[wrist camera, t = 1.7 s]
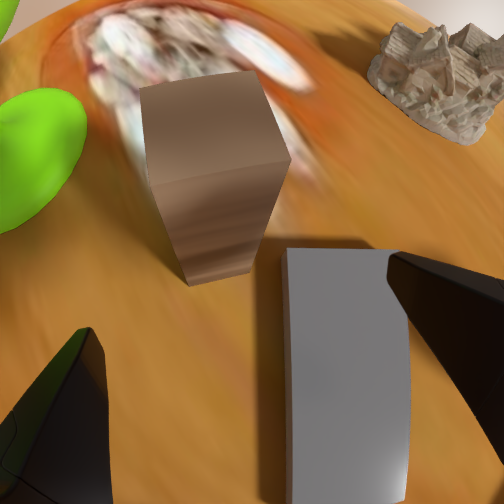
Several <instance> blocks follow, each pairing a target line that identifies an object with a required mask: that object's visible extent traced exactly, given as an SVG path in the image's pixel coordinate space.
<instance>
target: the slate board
mask: <svg viewBox="0 0 504 504" xmlns="http://www.w3.org/2000/svg"><path fill="white" fill-rule="evenodd" d="M396 252H399V250H385V249H328V248H286V250H285V252H284V253H283V255H282V256H281V272H282V296H283V324H284V357H285V405H286V504H394V503H397V502H400V501H403V500H404V498H405V490H406V481H407V470H408V458H409V442H410V416H411V376H410V349H409V332H408V319H407V315H406V313H405V311H404V309H403V308H402V306H401V304H400V303H399V301H398V299H397V298H396V296H395V294H394V293H393V291H392V290H391V288H390V286H389V285H388V282H387V279H386V274H387V266H388V258H389V256H390V255H391V254H392V253H396Z"/></svg>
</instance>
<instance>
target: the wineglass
mask: <svg viewBox="0 0 504 504" xmlns="http://www.w3.org/2000/svg"><path fill="white" fill-rule="evenodd" d="M19 1H20V0H0V42H1V40H2V39H3V37H4V35H5V34H6V32H7V30H8V28H9V26H10V24H11V22H12V20H13V17H14V15H15V12H16V9H17V7H18V4H19ZM86 135H87V116H86V113H85V111H84V108H83V105H82V103H81V102H80V101H79V100H77V99H76V98H75V97H74V96H73V95H72V94H71V93H69V92H66V91H63V90H60V89H58V88H39V89H35V90H30V91H26V92H24V93H22V94H20V95H17V96H15V97H13V98H11V99H9V100H8V101H6V102H5V103H3V104H2V105H0V234H1V233H4V232H7V231H9V230H12V229H15V228H17V227H18V226H20V225H21V224H23V223H24V222H26V221H27V220H29V219H30V218H32V217H33V216H35V215H36V214H37V213H38V212H39V211H40V210H41V209H42V208H43V207H44V206H45V205H46V204H47V203H48V202H49V201H50V200H51V199H52V198H54V197H55V195H56V194H57V193H58V191H59V190H60V188H61V187H62V186H63V184H64V183H65V182H66V180H67V179H68V178H69V176H70V175H71V173H72V171H73V169H74V167H75V165H76V163H77V161H78V159H79V157H80V156H81V154H82V150H83V146H84V142H85V139H86Z"/></svg>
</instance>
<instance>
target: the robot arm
mask: <svg viewBox="0 0 504 504" xmlns="http://www.w3.org/2000/svg"><path fill="white" fill-rule="evenodd" d="M386 279H387V282H388V285H389V286H390V288H391V290H392V291H393V293H394V294H395V296H396V298H397V299H398V301H399V303H400V304H401V306H402V308H403V309H404V311H405V313H406V315H407V316H408V318H409V319H410V321H411V322H412V324H413V325H414V326H415V328H416V329H417V331H418V332H419V333H420V335H421V336H422V337H423V339H424V340H425V342H426V343H427V345H428V346H429V347H430V349H431V350H432V352H433V353H434V355H435V356H436V357H437V359H438V360H439V362H440V363H441V365H442V366H443V368H444V369H445V371H446V372H447V374H448V375H449V377H450V378H451V380H452V381H453V383H454V384H455V386H456V387H457V389H458V390H459V392H460V393H461V395H462V397H463V398H464V400H465V401H466V403H467V404H468V406H469V408H470V409H471V411H472V412H473V414H474V416H476V419H477V421H478V423H479V424H480V426H481V428H482V429H483V431H484V433H485V434H486V436H487V438H488V439H489V441H490V443H491V445H492V446H493V448H494V450H495V452H496V453H497V455H498V457H499V459H500V461H501V462H502V464H503V465H504V280H501V279H498V278H496V279H495V278H494V277H491V276H488V275H485V274H481V273H478V272H474V271H471V270H467V269H464V268H461V267H457V266H454V265H450V264H447V263H443V262H439V261H436V260H432V259H429V258H425V257H421V256H418V255H414V254H410V253H407V252H403V251H399V252H396V253H392V254H391V255H390V256H389V258H388V266H387V274H386ZM0 504H113V496H112V485H111V471H110V452H109V400H108V389H107V378H106V365H105V354H104V350H103V347H102V346H101V344H100V342H99V340H98V338H97V336H96V334H95V332H94V330H93V329H92V328H90V327H87V328H82V329H78V330H77V331H76V332H75V333H74V334H73V335H72V337H71V338H70V339H69V340H68V341H67V342H66V344H65V345H64V346H63V347H62V348H61V349H60V351H59V352H58V353H57V354H56V355H55V356H54V358H53V359H52V360H51V361H50V362H49V364H48V365H47V366H46V367H45V368H44V370H43V371H42V372H41V373H40V375H39V376H38V377H37V378H36V379H35V381H34V382H33V383H32V384H31V386H30V387H29V388H28V389H27V391H26V392H25V393H24V394H23V396H22V397H21V398H20V400H19V401H18V402H17V403H16V405H15V406H14V407H13V411H12V410H11V411H10V412H9V414H8V415H7V417H6V418H5V419H4V420H3V422H2V423H1V424H0Z"/></svg>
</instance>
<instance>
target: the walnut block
mask: <svg viewBox="0 0 504 504" xmlns="http://www.w3.org/2000/svg"><path fill="white" fill-rule="evenodd" d="M139 89H140V102H141V113H142V124H143V134H144V143H145V151H146V160H147V168H148V175H149V183H150V188H151V190H152V193H153V196H154V199H155V201H156V204H157V207H158V210H159V212H160V215H161V218H162V220H163V223H164V225H165V228H166V231H167V233H168V236H169V238H170V241H171V244H172V246H173V249H174V251H175V254H176V256H177V259H178V261H179V264H180V266H181V268H182V271H183V273H184V276H185V278H186V281H187V283H188V285H189V287H190V286H195V285H199V284H204V283H208V282H212V281H217V280H221V279H225V278H229V277H234V276H238V275H242V274H246V273H249V272H250V270H251V267H252V264H253V262H254V259H255V256H256V254H257V251H258V248H259V246H260V243H261V240H262V238H263V235H264V232H265V230H266V227H267V224H268V222H269V219H270V216H271V213H272V211H273V208H274V205H275V203H276V200H277V197H278V195H279V192H280V189H281V187H282V184H283V181H284V179H285V176H286V173H287V171H288V168H289V165H290V162H291V157H290V154H289V152H288V149H287V147H286V144H285V142H284V139H283V137H282V134H281V132H280V129H279V127H278V124H277V122H276V119H275V117H274V115H273V112H272V110H271V107H270V105H269V103H268V100H267V98H266V96H265V93H264V91H263V89H262V86H261V84H260V82H259V79H258V77H257V75H256V73H255V70H252V71H242V72H232V73H224V74H216V75H209V76H202V77H196V78H189V79H184V80H178V81H173V82H167V83H162V84H157V85H153V86H148V87H143V88H139Z"/></svg>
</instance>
